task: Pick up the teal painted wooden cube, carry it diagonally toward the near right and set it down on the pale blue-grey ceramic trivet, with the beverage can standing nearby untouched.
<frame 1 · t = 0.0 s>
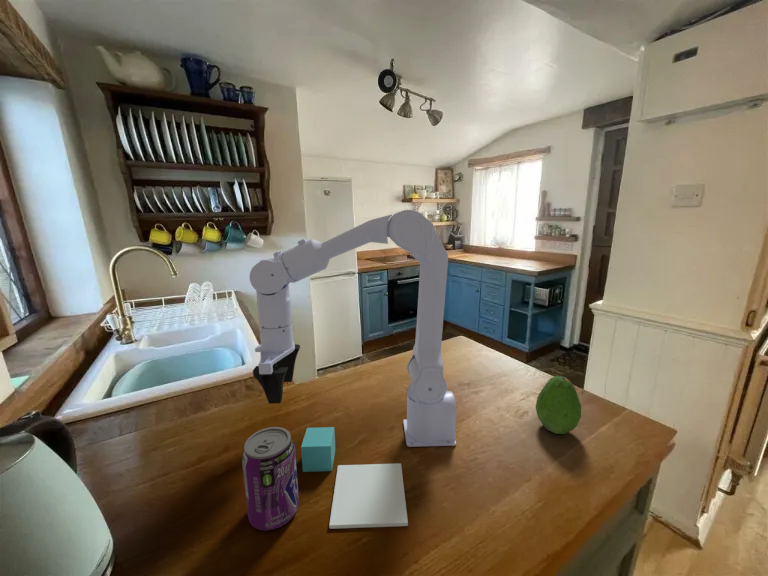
hand: (281, 391, 60), 10 cm above the countertop, tool pointing down, fingers open, 7 cm apart
trivet: (369, 494, 49), on the countertop
cube: (319, 460, 56), on the countertop
beverage can: (274, 512, 47), on the countertop
avocado: (555, 430, 64), on the countertop
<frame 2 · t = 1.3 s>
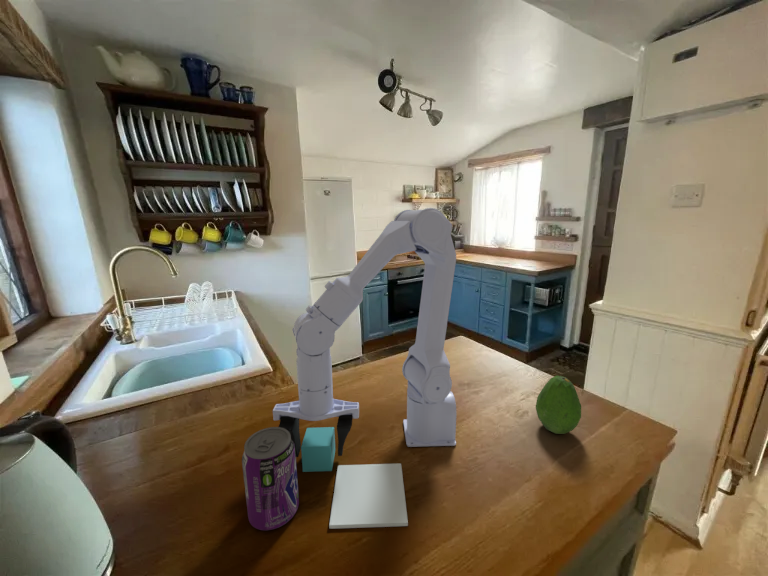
hand: (319, 452, 56), 2 cm above the countertop, tool pointing down, fingers open, 7 cm apart
nothing on the countertop moved.
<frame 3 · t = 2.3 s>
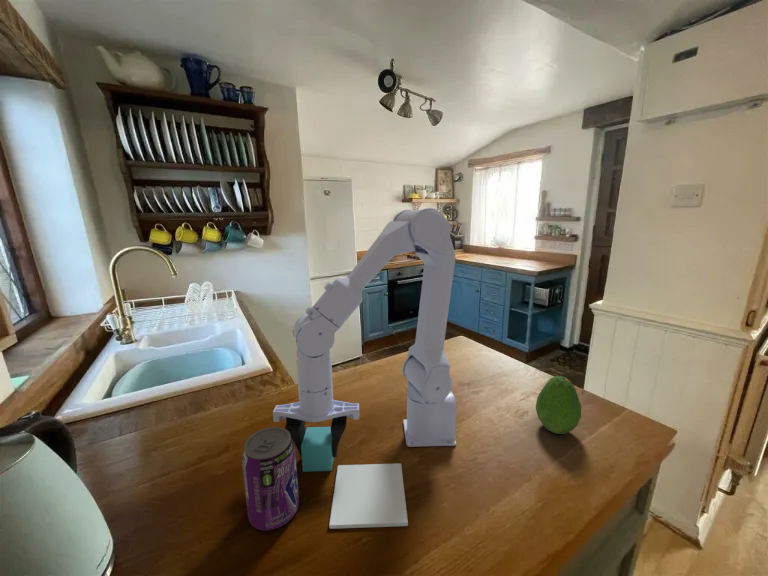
hand: (319, 453, 56), 1 cm above the countertop, tool pointing down, fingers closed on cube, 5 cm apart
cube: (319, 460, 56), on the countertop, touching gripper
everything else where it was.
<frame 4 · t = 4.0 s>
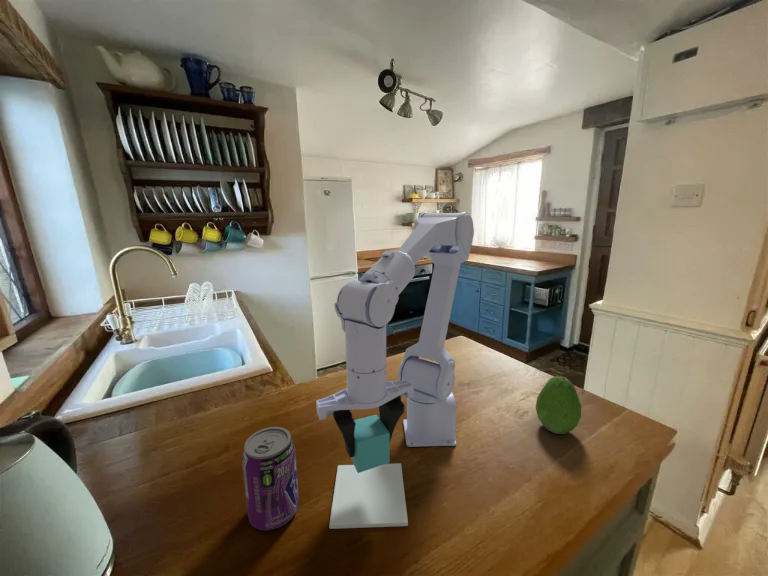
hand: (367, 447, 48), 8 cm above the countertop, tool pointing down, fingers closed on cube, 5 cm apart
cube: (367, 456, 48), point 7 cm above the countertop, touching gripper
everything else where it was.
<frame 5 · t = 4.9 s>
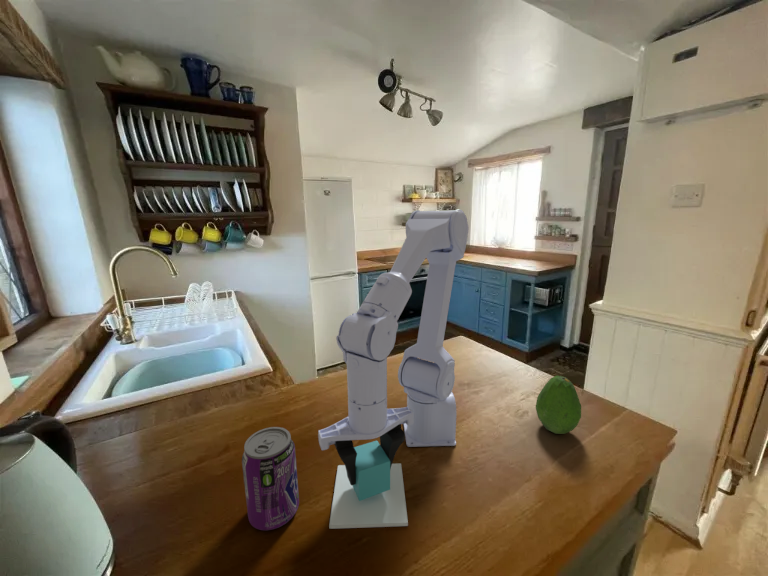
hand: (368, 474, 49), 4 cm above the countertop, tool pointing down, fingers closed on cube, 5 cm apart
cube: (368, 482, 49), point 2 cm above the countertop, touching gripper
everything else where it was.
when the fingers open (4 cm above the countertop, at t = 5.8 s): cube drops 1 cm, resting on trivet.
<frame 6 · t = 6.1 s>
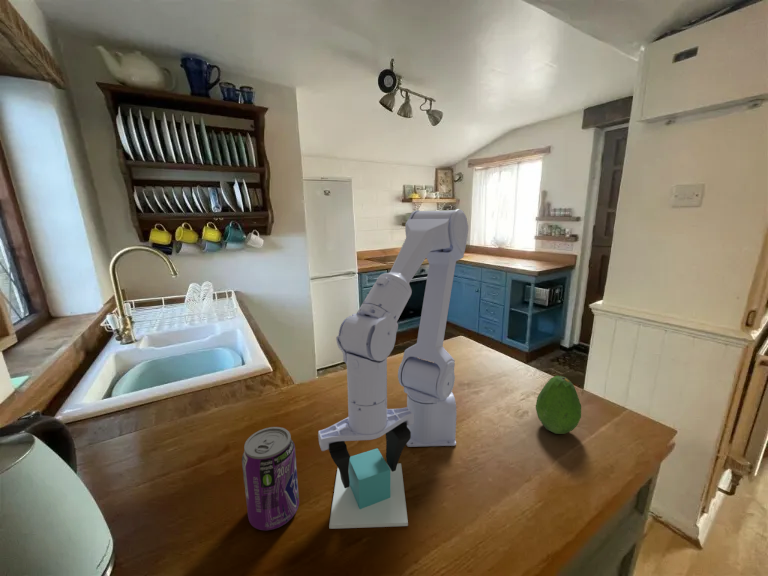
hand: (368, 474, 49), 4 cm above the countertop, tool pointing down, fingers open, 7 cm apart
cube: (369, 490, 49), point 1 cm above the countertop, touching trivet
everything else where it was.
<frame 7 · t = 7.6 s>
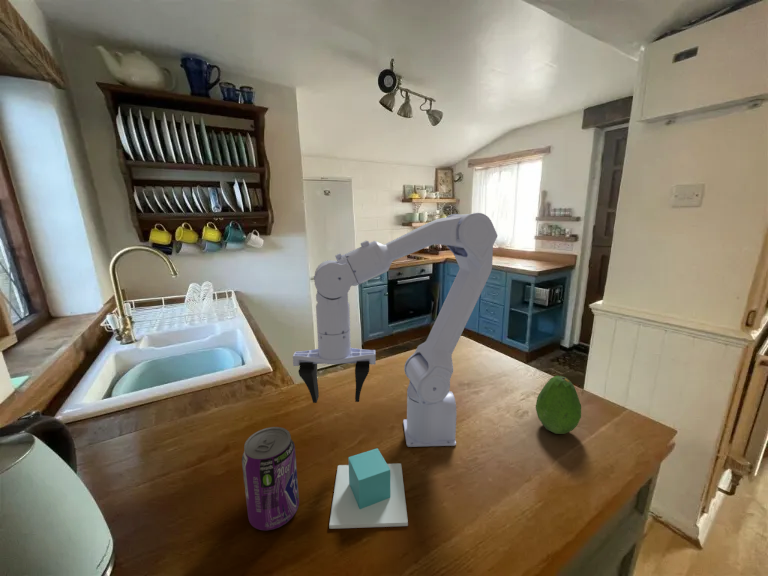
hand: (336, 399, 58), 10 cm above the countertop, tool pointing down, fingers open, 7 cm apart
nothing on the countertop moved.
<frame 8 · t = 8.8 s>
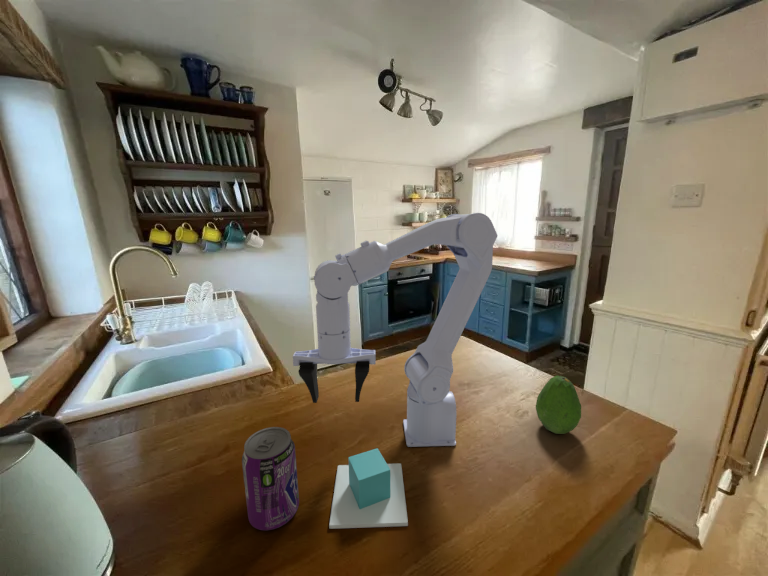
hand: (336, 399, 58), 10 cm above the countertop, tool pointing down, fingers open, 7 cm apart
nothing on the countertop moved.
at the end: cube inside the target area on the trivet (0.0 cm from its centre), point 0.6 cm above the trivet's base; cube tilted 0°; the gripper is holding nothing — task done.
